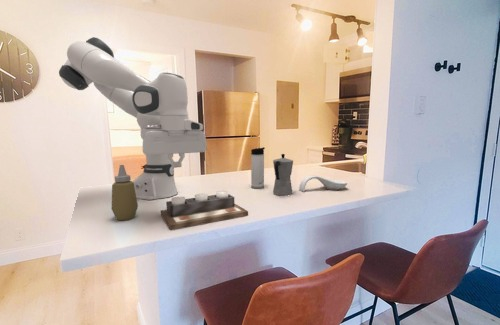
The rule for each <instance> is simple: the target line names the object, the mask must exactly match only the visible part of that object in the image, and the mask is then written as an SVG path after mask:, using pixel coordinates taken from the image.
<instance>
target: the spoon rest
mask: <svg viewBox="0 0 500 325" xmlns="http://www.w3.org/2000/svg"><path fill="white" fill-rule="evenodd" d="M313 179H314V180H318V181H319V182H320V183H321V184H322V185H323V186H324V187H325V188H326V189H327V188H328V189H327V190H330V189H333V190H332V191H339V190H342V189H344V188H345V187H346V186H347V185H348V181H345V180H339V179H332V178H324V177H322V176H318V175H316V174H315V175H314V174H313V175H312V174H311V175H308V176H306V177H304V178H303V179H301V180H302V181H301V182H300V184H299V186H298V190H299V191H301V192H303V193H305V192H306V186H307V183H308V182H309V181H310V180H313ZM338 189H339V190H338Z"/></svg>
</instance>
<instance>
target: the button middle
mask: <svg viewBox="0 0 500 325" xmlns="http://www.w3.org/2000/svg"><path fill="white" fill-rule="evenodd" d="M208 196H209V195H208V194H207V193H197V194H195V195H194V198H195V201H196V202H201V201H208Z"/></svg>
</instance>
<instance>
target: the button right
mask: <svg viewBox="0 0 500 325" xmlns="http://www.w3.org/2000/svg"><path fill="white" fill-rule="evenodd" d="M228 194H229V191H227V190H219V191H216V194H215V195H216V198H218V199H221V198H228Z"/></svg>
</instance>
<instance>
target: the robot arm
mask: <svg viewBox="0 0 500 325" xmlns="http://www.w3.org/2000/svg"><path fill="white" fill-rule="evenodd" d="M66 56H67V60H66V62H65V63H64V65H63V64H62V65H61V67H60V69H59V71H58V75H59V77H60V78H61V80H62V81H63V82H64V84H65V85H67V86H68V87H70V88H71V89H75V90H78V91H84V90H85V89H87V88H89V87H90V85H91V84H92V83H93V86H94V87H95V88H96V89H97V90H98V91H99V93H100V94H102V95H103V97H105V98H106V99H107V100H109V101H110V102H112V104H114V105H115V106H117V107H118V108H119V109H120V110H122V111H124V112H125V113H127V114H128V115H129V116H132V117H134V118H135V119H136V122H137V124H138V126H139V128H140V137H141V139H142V153H143V154H144V155H145V159H146V160H145V161H146V164H144V165H141V166H140V167H141V168H140V169H143V171H142V173H141V174H140V175H138V176H137V177H136V178H135V179H134V180H133V181H132V182H133V183H134V187H135V192H136V198H137V199H140V200H147V201H151V200H152V201H153V200H157V199H165V198H169V197H175V196H176V195H178V193H179V191H178V189H177V186H176V182H175V176H174V175H175V168H182V165H183V164H182V162H183V160H184V159H185V154H194V153H195V154H196V153H205V151H206V150H207V148H208V146H207V145H208V144H207V139H206V134H205V132H204V131H203V129H204V125H203V123H200V122H196V121H194V120H191V119H189V112H188V110H187V107H188V102H189V101H188V88H187V83H186V80H185V78H184V77H183V76H181V75H179V74H176V73H172V72H161V73H159V74H158V76H157V77H156V78H154V79H153V80H152V81H150V80H148V79H147V78H145V77H143V76H142V75H140V74H138V73H137V72H135V71H134V70H132V69H130V67H128V66H126V65H125V64H124V63H122V62H120V61H119V60H117V59H116V58H115V56H114V51H113V50H112V48H111V47H110V45H109V44H108V43H107V42H105V41H104V40H102V39H100V38H98V37H94V36H92V37H90V38H88V39H87V40H86V41H85V42H84V41H81V40H80V41H75V42H73V43H71V44H69V46H68V48H67V51H66ZM174 154H176V155H177V154H178V156H179V159H178V161H174Z"/></svg>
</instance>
